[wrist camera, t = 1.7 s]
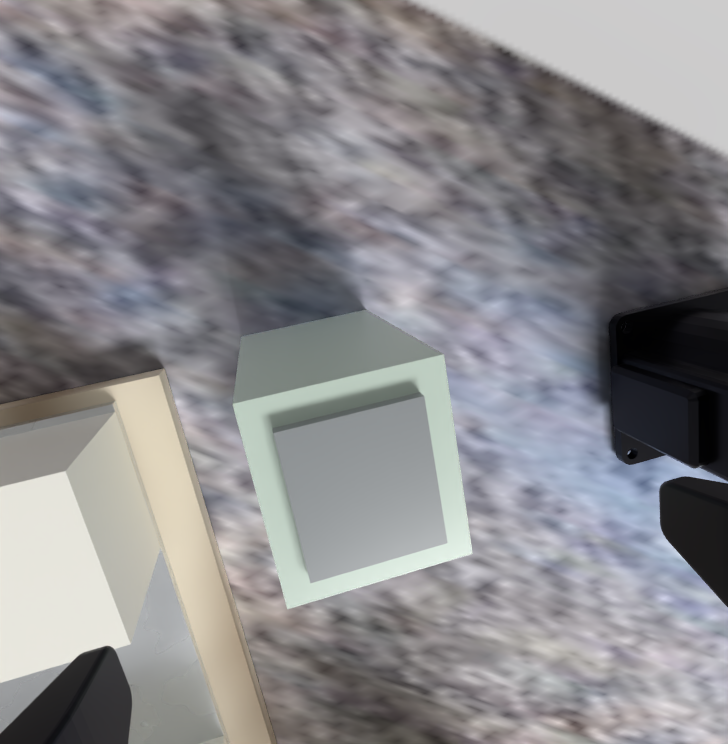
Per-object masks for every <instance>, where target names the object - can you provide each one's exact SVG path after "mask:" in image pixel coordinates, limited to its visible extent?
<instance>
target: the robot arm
mask: <svg viewBox="0 0 728 744" xmlns="http://www.w3.org/2000/svg"><path fill="white" fill-rule="evenodd" d="M624 322H626V327H625V329H624V330H623V331H622V329H621V327H622V324H623V323H624ZM609 336H610V355H611V391H612V410H613V426H614V430H615V449H616V456H617V458H618V459H619V460H621V461H622V462H624V463H626V464H628V465H632V464H636V463H640V462H643V461H647V460H650V459H654V458H657V457H661V456H664V455H667V456H669V457H671V458H673V459H675V460H677V461H679V462H681V463H683V464H685V465H687V466H689V467H691V468H699V467H700V468H702V469H704V470H706V471H708V472H710V473H712V474H714V475H716V476H718V477H720V478H722V479H724V480H726V481H728V288H725V289H721V290H717V291H712V292H708V293H704V294H700V295H695V296H691V297H687V298H683V299H678V300H674V301H670V302H666V303H661V304H657V305H653V306H649V307H644V308H640V309H636V310H632V311H628V312H623V313H619V314H617V315H615V316H614V317H613V318H612V320H611V322H610V325H609ZM630 449H631V452H630V453H629V454H628V451H629V450H630ZM627 454H628V455H627ZM659 498H660V525H661V529H662V532H663V534H664V536H665V537H666V539H667V540H668V541H669V543H670V544H671V545H672V546H673V547H674V548H675V549H676V550H677V551H678V553H679V554H680V555H681V556H682V557H683V558H684V559H685V560H686V561H687V563H688V564H689V565H690V566H691V567H692V568H693V569H694V570H695V571H696V573H697V574H698V575H699V576H700V577H701V578H702V579H703V580H704V582H705V583H706V584H707V585H708V586H709V587H710V588H711V589H712V590H713V592H714V593H715V594H716V595H717V596H718V597H719V598H720V599H721V600H722V602H723V603H724V604H725V605H726V606H727V607H728V484H727V483H721V482H716V481H710V480H704V479H699V478H693V477H679V478H676V479H673V480H669V481H666V482H664V483H663V484H662V485H661V487H660V490H659ZM131 713H132V694H131V689H130V686H129V683H128V681H127V678H126V676H125V673H124V671H123V668H122V665H121V663H120V660H119V658H118V655H117V653H116V651H115V650H114V648H113V647H111V646H103V647H100V648H96V649H93V650H89V651H86V652H83V653H81V654H80V655H78V656H77V657H76V658H75V659H74V660H73V661H72V662H71V663H70V664H69V665H68V666H67V667H66V668H65V669H64V670H63V671H62V672H61V673H60V674H59V675H58V676H57V677H56V678H55V679H54V680H53V681H52V682H51V683H50V684H49V685H48V686H47V687H46V688H45V689H44V690H43V691H42V692H41V693H40V694H39V695H38V696H37V697H36V698H35V699H34V700H33V701H32V702H31V703H30V704H29V705H28V706H27V707H26V708H25V709H24V710H23V711H22V712H21V713H20V714H19V715H18V716H17V717H16V718H15V719H14V720H13V721H12V722H11V723H10V724H9V725H8V726H7V727H6V728H5V729H4V730H3V731H2V732H1V733H0V744H128V741H129V731H130V722H131Z"/></svg>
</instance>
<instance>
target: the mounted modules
mask: <svg viewBox="0 0 728 744" xmlns="http://www.w3.org/2000/svg"><path fill="white" fill-rule="evenodd" d="M160 548H161V547H160V544H159V541H158V538H157V535H156V532H155V529H154V526H153V523H152V520H151V517H150V514H149V511H148V508H147V505H146V502H145V499H144V496H143V493H142V490H141V487H140V484H139V481H138V478H137V475H136V472H135V469H134V466H133V463H132V461H131V458H130V455H129V452H128V449H127V446H126V443H125V440H124V437H123V434H122V431H121V428H120V425H119V422H118V419H117V416H116V413H115V412H111V413H107V414H102V415H98V416H94V417H89V418H85V419H81V420H76V421H72V422H68V423H63V424H59V425H55V426H50V427H46V428H42V429H37V430H33V431H28V432H24V433H20V434H15V435H11V436H7V437H2V438H0V683H2V682H5V681H9V680H12V679H15V678H19V677H22V676H25V675H29V674H32V673H36V672H39V671H42V670H46V669H49V668H52V667H56V666H59V665H63V664H66V663H69V662H72V661H73V660H74V659H75V658H76V657H77V656H78V655H80V654H81V653H83V652H86V651H89V650H93V649H96V648H100V647H103V646H111V647H113V648H114V649H116V648H120V647H123V646H127V645H130V644H131V642H132V638H133V635H134V632H135V629H136V625H137V622H138V619H139V616H140V612H141V609H142V606H143V603H144V600H145V596H146V593H147V590H148V587H149V583H150V580H151V577H152V574H153V570H154V567H155V564H156V561H157V557H158V554H159V551H160ZM199 744H227V743H226V741H225V738H224V736H221V737H218V738H215V739H212V740H209V741H206V742H203V743H199Z"/></svg>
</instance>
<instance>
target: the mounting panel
mask: <svg viewBox="0 0 728 744" xmlns="http://www.w3.org/2000/svg"><path fill="white" fill-rule="evenodd" d="M112 401H116V403H117V406H118V409H119V412H120V415H121V418H122V421H123V424H124V427H125V430H126V433H127V436H128V439H129V442H130V445H131V448H132V451H133V454H134V457H135V460H136V463H137V466H138V469H139V472H140V475H141V478H142V481H143V484H144V487H145V490H146V493H147V496H148V499H149V502H150V505H151V508H152V511H153V514H154V517H155V520H156V523H157V526H158V529H159V532H160V535H161V538H162V541H163V544H164V547H165V550H166V553H167V556H168V559H169V562H170V565H171V568H172V571H173V574H174V577H175V580H176V583H177V586H178V589H179V592H180V595H181V598H182V601H183V604H184V607H185V610H186V613H187V616H188V619H189V622H190V625H191V628H192V631H193V634H194V637H195V640H196V643H197V646H198V649H199V652H200V655H201V658H202V661H203V664H204V667H205V670H206V673H207V676H208V679H209V682H210V685H211V688H212V691H213V694H214V697H215V700H216V703H217V706H218V709H219V712H220V715H221V718H222V721H223V724H224V727H225V730H226V733H227V736H228V739H229V742H230V744H277V742H276V738H275V735H274V732H273V729H272V725H271V722H270V719H269V715H268V712H267V709H266V705H265V702H264V699H263V695H262V692H261V689H260V685H259V682H258V679H257V675H256V672H255V669H254V665H253V662H252V659H251V655H250V652H249V649H248V645H247V642H246V639H245V635H244V632H243V629H242V625H241V622H240V619H239V615H238V612H237V609H236V605H235V602H234V599H233V595H232V592H231V589H230V585H229V582H228V579H227V575H226V572H225V569H224V565H223V562H222V559H221V555H220V552H219V549H218V545H217V542H216V539H215V535H214V532H213V529H212V525H211V522H210V519H209V515H208V512H207V509H206V505H205V502H204V499H203V495H202V492H201V489H200V485H199V482H198V479H197V476H196V472H195V469H194V466H193V462H192V459H191V456H190V452H189V449H188V446H187V442H186V439H185V436H184V432H183V429H182V426H181V422H180V419H179V416H178V412H177V409H176V406H175V402H174V399H173V396H172V392H171V389H170V386H169V382H168V379H167V376H166V372H165V369H164V368H163V369H158V370H154V371H149V372H145V373H140V374H136V375H131V376H127V377H122V378H118V379H113V380H109V381H104V382H100V383H95V384H90V385H86V386H81V387H77V388H72V389H68V390H63V391H59V392H54V393H50V394H45V395H41V396H36V397H31V398H27V399H22V400H18V401H13V402H9V403H4V404H0V427H1V426H6V425H10V424H15V423H19V422H24V421H28V420H32V419H37V418H41V417H46V416H50V415H54V414H59V413H63V412H68V411H72V410H76V409H81V408H85V407H90V406H94V405H99V404H103V403H107V402H112Z"/></svg>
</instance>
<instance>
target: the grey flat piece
mask: <svg viewBox="0 0 728 744" xmlns="http://www.w3.org/2000/svg"><path fill="white" fill-rule="evenodd" d="M111 412H115V413H116V416H117V419H118V422H119V425H120V428H121V431H122V434H123V437H124V440H125V443H126V446H127V449H128V452H129V455H130V458H131V461H132V463H133V466H134V469H135V472H136V475H137V478H138V481H139V484H140V487H141V490H142V493H143V496H144V499H145V502H146V505H147V508H148V511H149V514H150V517H151V520H152V523H153V526H154V529H155V532H156V535H157V538H158V541H159V544H160V547H161V548H160V551H159V554H158V557H157V561H156V564H155V567H154V570H153V574H152V577H151V580H150V583H149V587H148V590H147V593H146V596H145V600H144V603H143V606H142V609H141V612H140V616H139V619H138V622H137V625H136V629H135V632H134V635H133V638H132V642H131V644H130V645H127V646H123V647H120V648H116V649H114V650H115V651H116V653H117V655H118V658H119V660H120V663H121V665H122V668H123V671H124V673H125V676H126V678H127V681H128V683H129V686H130V689H131V694H132V713H131V722H130V731H129V741H128V744H199V743H203V742H206V741H209V740H212V739H215V738H218V737H221V736H224V738H225V741H226V743H227V744H230V742H229V739H228V736H227V733H226V730H225V727H224V724H223V721H222V718H221V715H220V712H219V709H218V706H217V703H216V700H215V697H214V694H213V691H212V688H211V685H210V682H209V679H208V676H207V673H206V670H205V667H204V664H203V661H202V658H201V655H200V652H199V649H198V646H197V643H196V640H195V637H194V634H193V631H192V628H191V625H190V622H189V619H188V616H187V613H186V610H185V607H184V604H183V601H182V598H181V595H180V592H179V589H178V586H177V583H176V580H175V577H174V574H173V571H172V568H171V565H170V562H169V559H168V556H167V553H166V550H165V547H164V544H163V541H162V538H161V535H160V532H159V529H158V526H157V523H156V520H155V517H154V514H153V511H152V508H151V505H150V502H149V499H148V496H147V493H146V490H145V487H144V484H143V481H142V478H141V475H140V472H139V469H138V466H137V463H136V460H135V457H134V454H133V451H132V448H131V445H130V442H129V439H128V436H127V433H126V430H125V427H124V424H123V421H122V418H121V415H120V412H119V409H118V406H117V403H116V401H112V402H107V403H103V404H99V405H94V406H90V407H85V408H81V409H76V410H72V411H68V412H63V413H59V414H54V415H50V416H46V417H41V418H37V419H32V420H28V421H24V422H19V423H15V424H10V425H6V426H1V427H0V438H2V437H7V436H11V435H15V434H20V433H24V432H28V431H33V430H37V429H42V428H46V427H50V426H55V425H59V424H63V423H68V422H72V421H76V420H81V419H85V418H89V417H94V416H98V415H102V414H107V413H111ZM70 663H71V662H69V663H66V664H63V665H59V666H56V667H52V668H49V669H46V670H42V671H39V672H36V673H32V674H29V675H25V676H22V677H19V678H15V679H12V680H9V681H5V682H2V683H0V733H1V732H2V731H3V730H4V729H5V728H6V727H7V726H8V725H9V724H10V723H11V722H12V721H13V720H14V719H15V718H16V717H17V716H18V715H19V714H20V713H21V712H22V711H23V710H24V709H25V708H26V707H27V706H28V705H29V704H30V703H31V702H32V701H33V700H34V699H35V698H36V697H37V696H38V695H39V694H40V693H41V692H42V691H43V690H44V689H45V688H46V687H47V686H48V685H49V684H50V683H51V682H52V681H53V680H54V679H55V678H56V677H57V676H58V675H59V674H60V673H61V672H62V671H63V670H64V669H65V668H66V667H67V666H68V665H69V664H70Z"/></svg>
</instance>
